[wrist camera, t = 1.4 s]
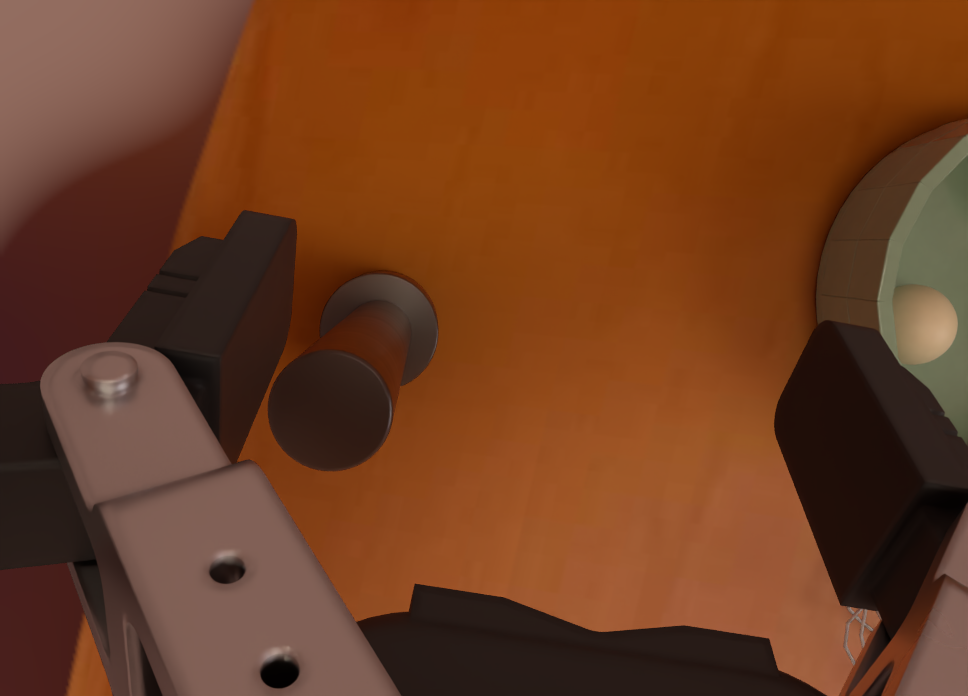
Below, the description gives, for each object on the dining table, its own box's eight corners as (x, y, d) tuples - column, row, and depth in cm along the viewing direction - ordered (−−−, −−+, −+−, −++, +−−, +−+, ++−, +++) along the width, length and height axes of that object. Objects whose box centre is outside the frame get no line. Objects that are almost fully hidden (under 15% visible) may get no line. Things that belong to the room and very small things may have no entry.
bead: (847, 289, 34) (890, 294, 31) (922, 276, 34) (972, 279, 31) (856, 365, 35) (899, 377, 31) (930, 351, 35) (980, 362, 32)
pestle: (319, 281, 33) (191, 319, 15) (427, 262, 34) (422, 278, 16) (340, 386, 34) (239, 541, 16) (446, 367, 34) (463, 500, 16)
